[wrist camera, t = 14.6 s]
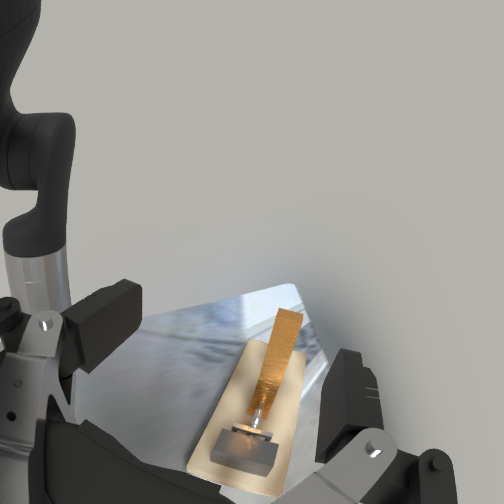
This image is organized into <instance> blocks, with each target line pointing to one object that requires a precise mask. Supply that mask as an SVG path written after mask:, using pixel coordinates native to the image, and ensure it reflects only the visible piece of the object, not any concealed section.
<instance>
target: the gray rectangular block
mask: <svg viewBox="0 0 504 504" xmlns="http://www.w3.org/2000/svg"><path fill="white" fill-rule="evenodd" d="M249 427H251V424H250V425H249ZM258 427H259V426H258ZM257 429H258V428H257ZM278 447H279V444H277V443H272V442H268V441H264V440H261V439H257V438H255V435H252V434H248V433H247V434H246V435H243V434H239V433H236V432H233V431H230V430H227V429H224V428H222V430H221V432H220V435H219V437H218V439H217V441H216V443H215V446H214V448H213V451H212V456H211V460H210V461H211V462H214V463H217V464H220V465H223V466H226V467H229V468H232V469H236V470H239V471H243V472H246V473H250V474H254V475H258V476H262V477H267V476H268V474H269V473H270V471H271V470H272V468H273V467H274V463H275V459H276V455H277V451H278Z"/></svg>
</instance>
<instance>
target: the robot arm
mask: <svg viewBox="0 0 504 504" xmlns="http://www.w3.org/2000/svg"><path fill="white" fill-rule="evenodd" d="M40 11H41V0H0V186H1V187H3V188H5V189H9V190H38V198H37V204H36V206H35V207H34V208H33V209H32V210H30V211H29V212H27V213H25V214H22V215H20V216H18V217H15V218H13V219H12V220H10V221H9V222H8V223H6V224H5V226H4V228H3V247H4V255H5V263H6V269H7V275H8V282H9V287H10V292H11V297H4V298H0V338H1V341H2V343H3V346H4V350H3V351H1V352H0V504H235V503H234V502H233V501H231V500H230V499H228V498H227V497H225V496H223V495H222V494H220V493H219V491H220V488H221V485H218V484H215V483H212V482H209V481H206V480H203V479H201V478H198V477H195V476H193V475H190V474H187V473H185V472H181V471H176V470H171V469H167V468H162V467H158V466H154V465H150V464H146V463H143V462H141V461H140V460H138V459H137V458H136V457H135V456H134V455H133V454H131V453H130V452H129V451H128V450H127V449H126V448H125V447H124V446H123V445H121V444H120V443H119V442H118V441H117V440H116V439H115V438H114V437H113V436H111V435H109V434H108V433H106V432H105V431H103V430H101V429H100V428H98V427H97V426H95V425H94V424H92V423H91V422H89V421H88V420H86V419H85V420H84V421H83V422H82V424H81V425H77V424H76V420H75V415H74V401H75V384H76V373H75V370H77V369H78V368H81V369H82V370H83V371H85V372H87V373H88V374H89V373H90V372H91V371H92V370H94V369H95V368H96V367H97V366H98V365H99V364H100V363H101V362H102V361H103V360H104V359H105V358H107V357H108V356H109V355H110V354H111V353H112V352H113V351H114V350H115V349H116V348H117V347H119V346H120V345H121V344H122V343H123V342H124V341H125V340H126V339H127V338H129V337H130V336H131V335H132V334H133V333H134V332H135V331H136V330H137V329H138V328H139V326H140V324H141V320H142V287H141V285H139V284H137V283H134V282H132V281H129V280H127V279H123V280H121V281H119V282H117V283H116V284H114V285H112V286H108V287H105V288H101V289H99V290H97V291H95V292H94V293H92V294H91V295H89V296H87V297H86V298H85V299H82V300H81V301H79V302H77V303H76V304H74V305H73V306H71V298H70V289H69V279H68V266H67V252H66V251H67V250H66V221H67V201H68V189H69V180H70V173H71V166H72V161H73V153H74V147H75V137H76V130H75V129H76V128H75V122H74V120H73V117H72V116H71V115H70V114H68V113H33V114H21V113H19V112H18V111H17V110H16V109H15V107H14V105H13V102H12V99H11V95H10V87H11V84H12V81H13V79H14V76H15V74H16V72H17V70H18V68H19V66H20V64H21V61H22V59H23V57H24V55H25V53H26V51H27V49H28V47H29V45H30V42H31V40H32V38H33V35H34V33H35V30H36V27H37V25H38V22H39V18H40ZM377 390H378V386H377V381H376V377H375V376H374V374H373V373H372V371H371V370H370V368H367V367H363V364H362V357H361V353H360V352H356V351H351V350H347V349H342V348H341V349H340V350H339V352H338V354H337V356H336V358H335V360H334V362H333V364H332V366H331V368H330V370H329V372H328V374H327V376H326V378H325V380H324V383H323V387H322V391H321V404H320V417H319V428H318V438H317V447H316V456H315V462H318V463H325V465H324V466H323V467H322V468H321V469H319V470H318V471H317V472H314V473H313V474H311V475H310V476H309V477H307V478H306V479H305V480H303V481H302V482H301V483H299V484H298V485H297V486H295V487H294V488H293V489H291V490H290V491H288V492H287V493H286V494H284V495H283V496H281V497H280V498H278V499H277V500H275V501H274V502H272V503H271V504H358V502H361V503H364V504H458V503H457V492H456V484H455V477H454V470H453V465H452V461H451V459H450V458H449V456H448V455H447V454H446V453H445V452H443V451H441V450H439V449H429V450H426V451H425V452H423V453H422V454H421V455H420V456H415V455H412V454H409V453H406V452H403V451H401V450H398V449H397V445H396V442H395V440H394V439H393V437H392V436H391V435H390V434H389V433H387V432H385V431H384V427H383V419H382V412H381V405H380V399H379V392H378V391H377Z"/></svg>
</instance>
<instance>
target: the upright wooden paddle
mask: <svg viewBox="0 0 504 504" xmlns="http://www.w3.org/2000/svg"><path fill="white" fill-rule="evenodd" d="M302 320H303V314H300V313H297V312H293V311H289V310H285V309H282V308H279V310H278V313H277V316H276V319H275V323H274V327H273V330H272V334H271V337H270V341H269V344H268V348H267V351H266V355H265V358H264V361H263V365H262V368H261V371H260V375H259V378H258V381H257V385H256V388H255V391H254V394H253V397H252V401H251V404H250V407H249V410H248V413H247V414H249V415H253V416H254V417H253V420H252V423H251V427H249V426H245V425H242V424H239V423H235V422H234V424H233V426H232V430H231V431H233V432H236V433H237V431H241V432H245V433H248V434H252V435H255V436H259V437H263V438H265V439H264V441H268V442H270V441H271V439H272V436H273V433H271V432H267V431H263V430H259V429H257V428H258V426H259V423H260V419H261V418H264V419H267V417H268V414H269V412H270V409H271V407H272V404H273V402H274V399H275V397H276V394H277V391H278V389H279V386H280V384H281V381H282V378H283V376H284V373H285V370H286V368H287V365H288V362H289V359H290V356H291V354H292V351H293V348H294V345H295V342H296V339H297V336H298V333H299V330H300V327H301V324H302Z"/></svg>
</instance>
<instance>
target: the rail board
mask: <svg viewBox="0 0 504 504" xmlns="http://www.w3.org/2000/svg"><path fill="white" fill-rule="evenodd" d="M267 348H268V344H267V343H264V342H260V341H257V340H253V339H249V341H248V343H247V345H246V347H245V349H244V351H243V353H242V356H241V358H240V360H239V362H238V364H237V366H236V368H235V370H234V372H233V375H232V377H231V379H230V381H229V383H228V385H227V387H226V389H225V391H224V393H223V395H222V397H221V399H220V401H219V403H218V405H217V407H216V409H215V411H214V413H213V415H212V417H211V419H210V421H209V423H208V425H207V427H206V429H205V431H204V433H203V435H202V437H201V439H200V441H199V443H198V445H197V446H196V448H195V450H194V452H193V454H192V456H191V458H190V460H189V462H188V464H187V472H189V473H192V474H194V475H197V476H200V477H202V478H205V479H208V480H211V481H214V482H217V483H220V484H223V485H227V486H230V487H233V488H237V489H241V490H244V491H248V492H252V493H256V494H261V495H265V496H270V497H275V498H278V497H279V496H280V495H281V493H282V492H283V488H284V484H285V479H286V475H287V470H288V465H289V461H290V456H291V451H292V445H293V440H294V435H295V429H296V423H297V418H298V412H299V405H300V399H301V392H302V385H303V378H304V371H305V363H306V355H307V354H305V353H301V352H297V351H292V354H291V356H290V359H289V362H288V365H287V368H286V370H285V373H284V376H283V378H282V381H281V384H280V386H279V389H278V391H277V394H276V397H275V399H274V402H273V404H272V407H271V409H270V412H269V414H268V417H267V419H264V418H261V419H260V423H259V427H258V429H259V430H263V431H267V432H271V433H273V436H272V439H271V441H270V442H272V443H277V444H279V447H278V451H277V455H276V459H275V463H274V467H273V468H272V470H271V471H270V473H269V474H268V476H267V477H262V476H258V475H254V474H250V473H246V472H243V471H239V470H236V469H232V468H229V467H226V466H223V465H220V464H217V463H214V462H211V461H210V460H211V456H212V451H213V448H214V446H215V443H216V441H217V439H218V437H219V435H220V432H221V430H222V428H224V429H227V430H230V431H231V430H232V426H233V424H234V422H235V423H239V424H242V425H245V426H249V425H250V424H251V423H252V420H253V417H254V416H253V415H249V414H247V413H248V410H249V407H250V404H251V401H252V397H253V394H254V391H255V388H256V385H257V381H258V378H259V375H260V371H261V368H262V365H263V361H264V358H265V355H266V351H267ZM237 433H239V434H243V435H246V434H247V433H245V432H241V431H237ZM255 438H257V439H261V440H264V439H265V438H263V437H259V436H255Z"/></svg>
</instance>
